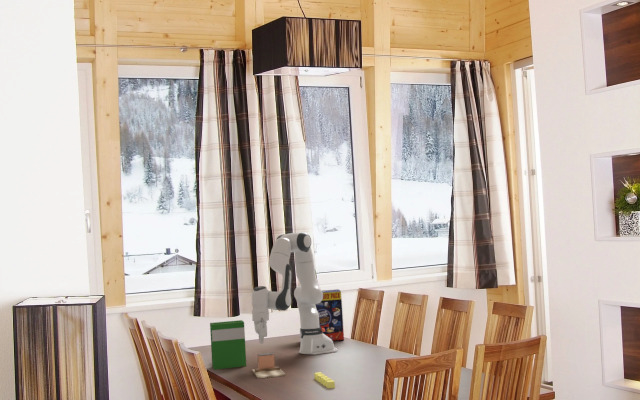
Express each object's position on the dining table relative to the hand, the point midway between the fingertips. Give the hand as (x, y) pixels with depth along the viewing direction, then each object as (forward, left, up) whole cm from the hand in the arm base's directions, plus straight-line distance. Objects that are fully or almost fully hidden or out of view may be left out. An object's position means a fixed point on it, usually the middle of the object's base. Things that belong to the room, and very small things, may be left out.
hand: (261, 343), depth 404 cm
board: (0, +16, -13) cm, 21 cm away
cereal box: (-48, -64, -13) cm, 81 cm away
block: (0, +10, -12) cm, 16 cm away
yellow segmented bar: (-23, +50, -14) cm, 57 cm away
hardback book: (+17, -12, -13) cm, 24 cm away
